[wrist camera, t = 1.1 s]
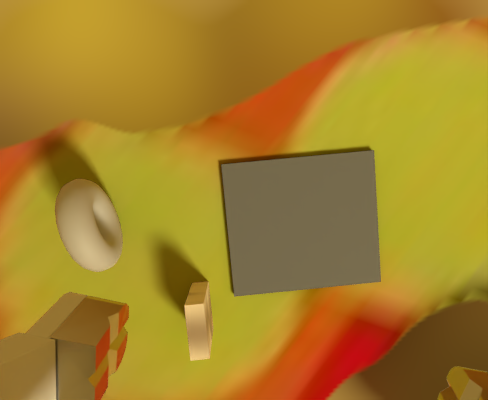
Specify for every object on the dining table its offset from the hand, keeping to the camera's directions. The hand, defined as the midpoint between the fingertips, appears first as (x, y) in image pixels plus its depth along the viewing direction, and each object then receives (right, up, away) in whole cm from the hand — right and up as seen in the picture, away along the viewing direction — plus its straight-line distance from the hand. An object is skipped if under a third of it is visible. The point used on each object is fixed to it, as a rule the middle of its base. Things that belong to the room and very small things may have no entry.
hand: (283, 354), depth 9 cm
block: (-6, -9, +35) cm, 37 cm away
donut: (-17, +2, +34) cm, 38 cm away
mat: (+6, +1, +34) cm, 35 cm away
